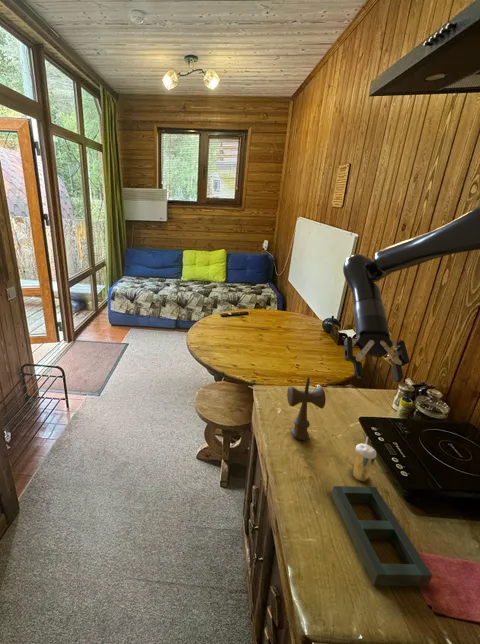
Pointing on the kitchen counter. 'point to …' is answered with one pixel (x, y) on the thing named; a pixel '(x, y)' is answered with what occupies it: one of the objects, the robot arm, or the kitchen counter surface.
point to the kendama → (304, 407)
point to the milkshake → (363, 460)
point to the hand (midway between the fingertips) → (379, 379)
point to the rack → (386, 528)
